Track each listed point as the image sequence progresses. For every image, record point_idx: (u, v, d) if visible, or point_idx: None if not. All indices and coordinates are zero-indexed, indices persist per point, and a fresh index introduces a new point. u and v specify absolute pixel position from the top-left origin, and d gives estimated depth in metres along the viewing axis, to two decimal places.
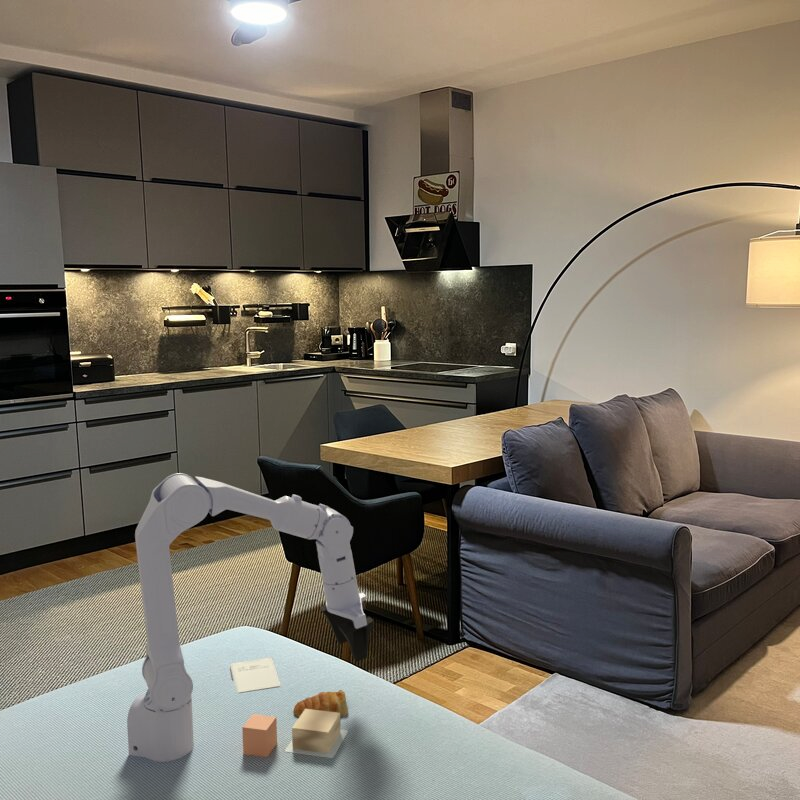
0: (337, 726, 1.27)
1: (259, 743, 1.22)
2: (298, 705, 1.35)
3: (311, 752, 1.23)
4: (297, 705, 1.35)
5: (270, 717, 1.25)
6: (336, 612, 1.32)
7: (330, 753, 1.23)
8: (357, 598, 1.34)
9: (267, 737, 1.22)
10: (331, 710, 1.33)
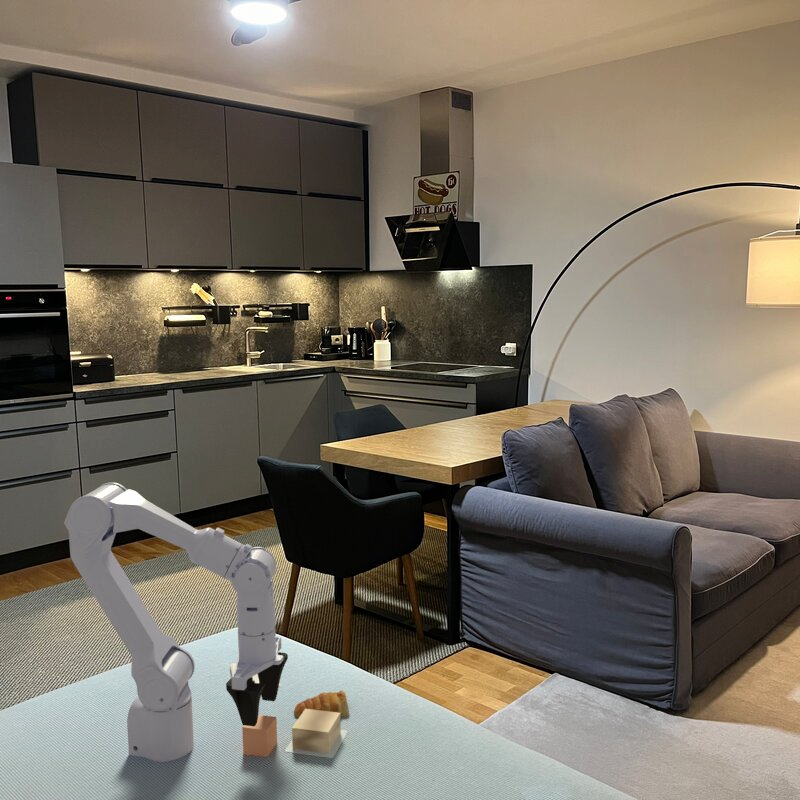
0: (337, 726, 1.27)
1: (259, 743, 1.22)
2: (299, 706, 1.35)
3: (311, 752, 1.23)
4: (298, 706, 1.35)
5: (270, 717, 1.25)
6: (236, 663, 1.20)
7: (330, 753, 1.23)
8: (262, 658, 1.20)
9: (267, 737, 1.22)
10: (332, 711, 1.33)
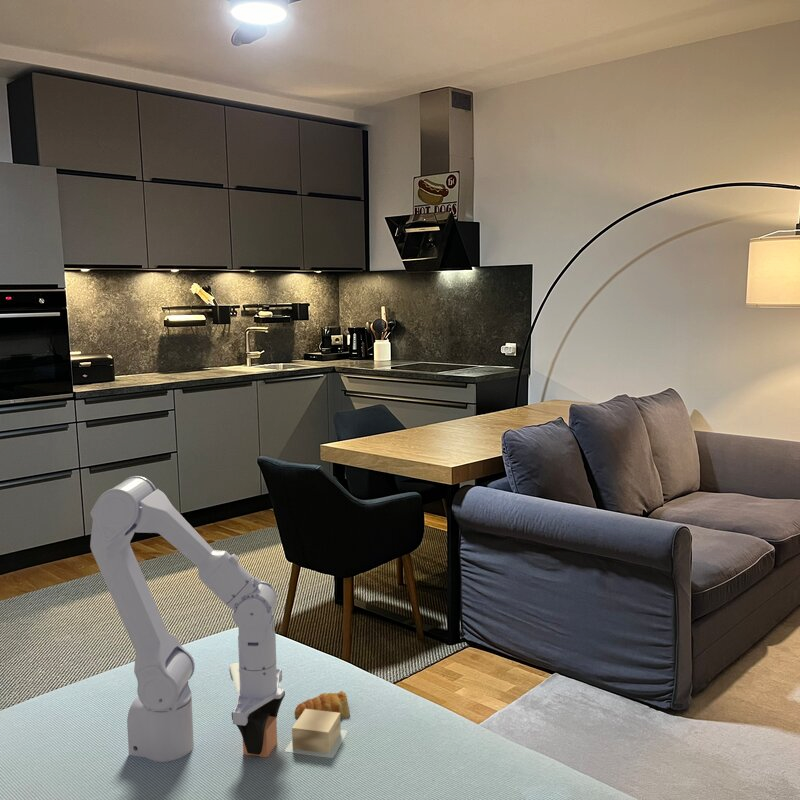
0: (337, 726, 1.27)
1: None
2: (299, 707, 1.34)
3: (311, 752, 1.23)
4: (298, 707, 1.35)
5: (270, 717, 1.25)
6: None
7: (330, 753, 1.23)
8: (263, 692, 1.20)
9: (267, 737, 1.22)
10: (333, 711, 1.33)
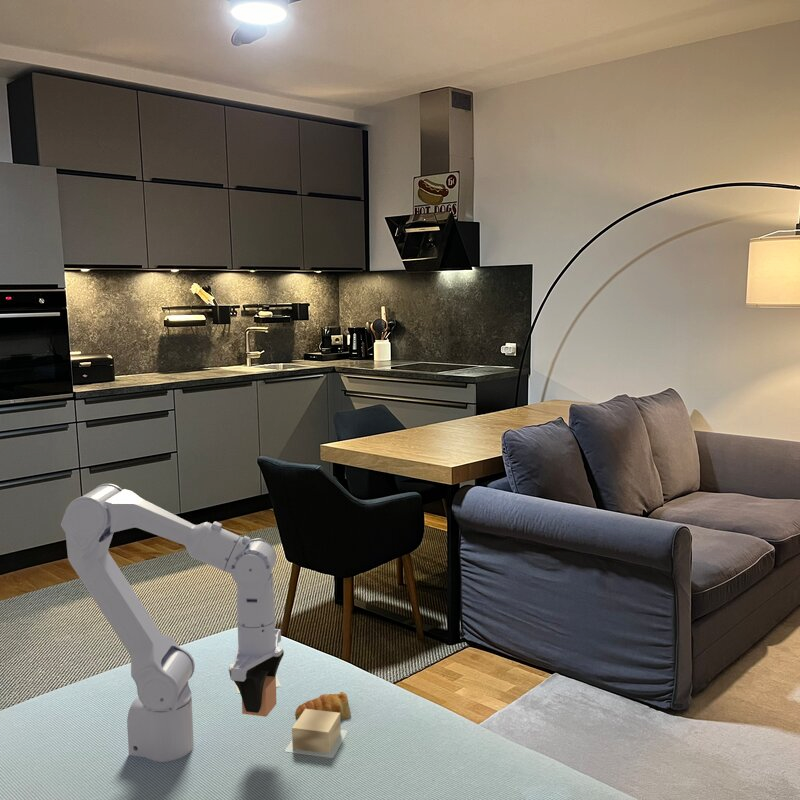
0: (337, 726, 1.27)
1: None
2: (300, 708, 1.34)
3: (311, 752, 1.23)
4: (299, 708, 1.34)
5: (269, 677, 1.24)
6: (236, 654, 1.20)
7: (330, 753, 1.23)
8: (262, 650, 1.19)
9: (267, 697, 1.21)
10: None
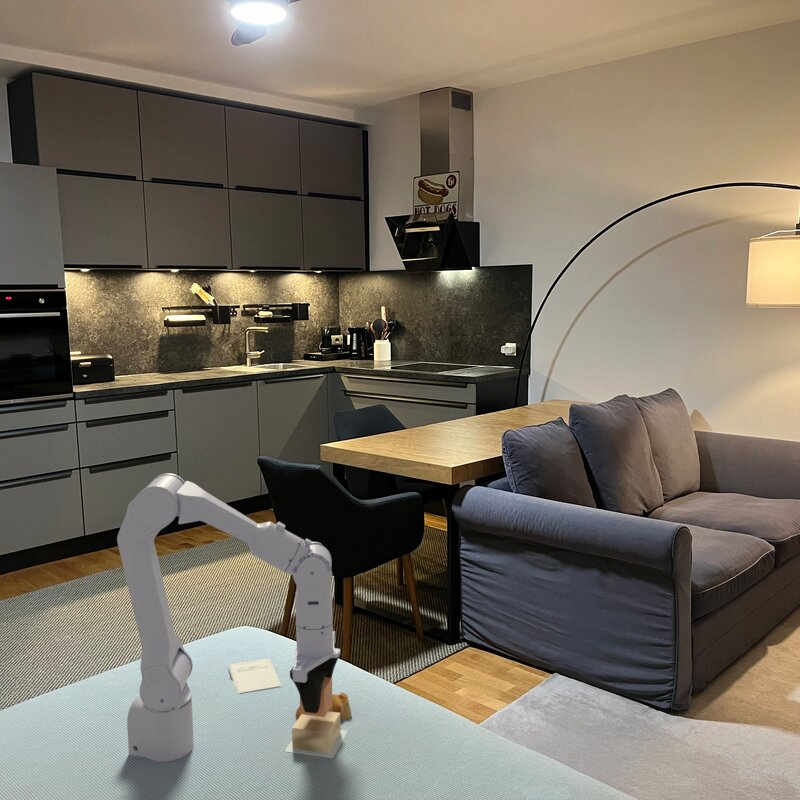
0: (337, 726, 1.27)
1: None
2: None
3: (311, 752, 1.23)
4: (299, 709, 1.34)
5: (326, 678, 1.26)
6: (295, 656, 1.22)
7: (330, 753, 1.23)
8: (321, 651, 1.22)
9: (325, 697, 1.23)
10: None
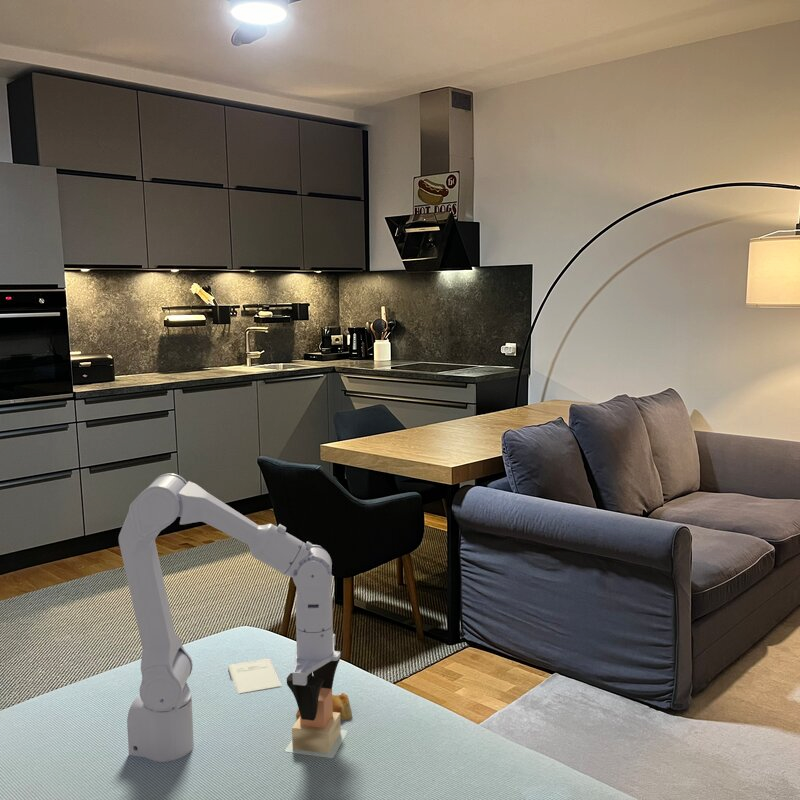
0: (337, 726, 1.27)
1: (316, 714, 1.23)
2: None
3: (311, 752, 1.23)
4: None
5: (326, 689, 1.26)
6: (295, 659, 1.22)
7: (330, 753, 1.23)
8: (321, 654, 1.22)
9: (324, 708, 1.23)
10: None
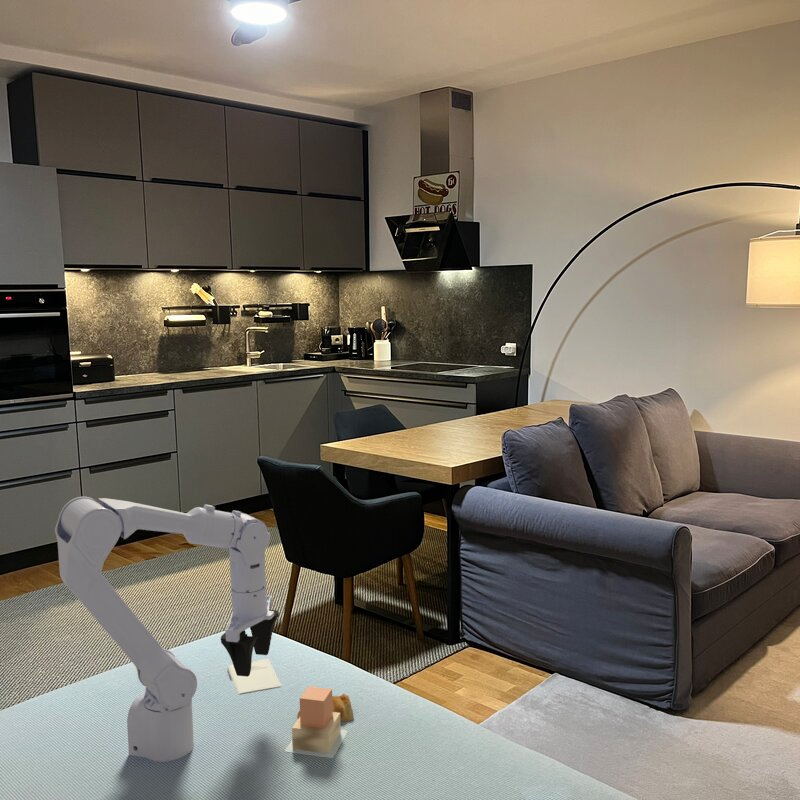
0: (337, 726, 1.27)
1: (316, 714, 1.23)
2: None
3: (311, 752, 1.23)
4: None
5: (326, 689, 1.26)
6: None
7: (330, 753, 1.23)
8: (254, 613, 1.28)
9: (324, 708, 1.23)
10: None
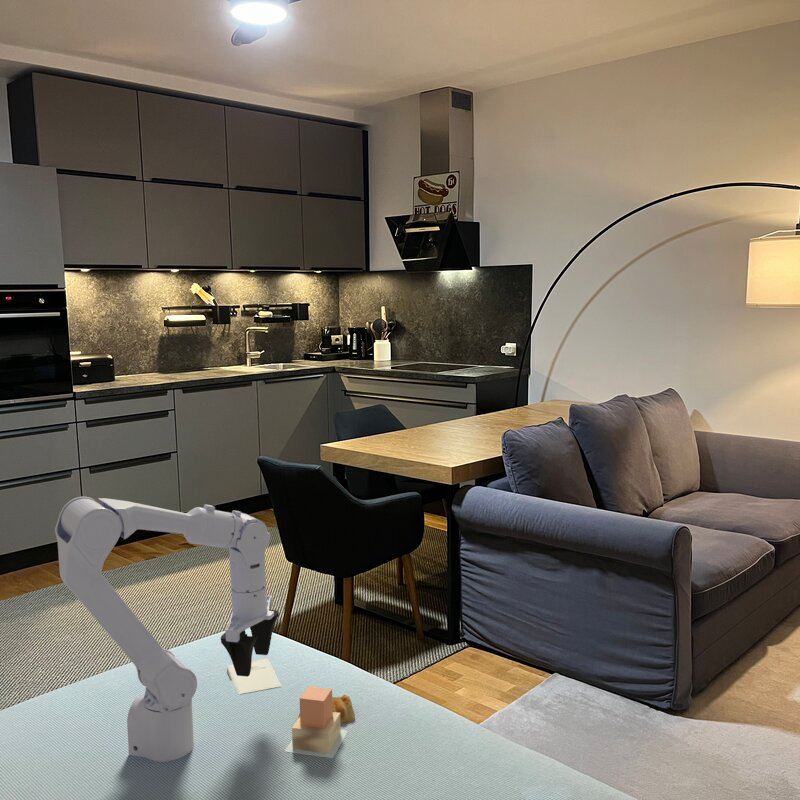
0: (337, 726, 1.27)
1: (316, 714, 1.23)
2: None
3: (311, 752, 1.23)
4: None
5: (326, 689, 1.26)
6: None
7: (330, 753, 1.23)
8: (254, 613, 1.28)
9: (324, 708, 1.23)
10: None
